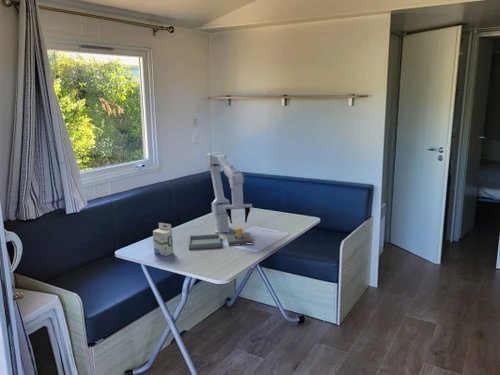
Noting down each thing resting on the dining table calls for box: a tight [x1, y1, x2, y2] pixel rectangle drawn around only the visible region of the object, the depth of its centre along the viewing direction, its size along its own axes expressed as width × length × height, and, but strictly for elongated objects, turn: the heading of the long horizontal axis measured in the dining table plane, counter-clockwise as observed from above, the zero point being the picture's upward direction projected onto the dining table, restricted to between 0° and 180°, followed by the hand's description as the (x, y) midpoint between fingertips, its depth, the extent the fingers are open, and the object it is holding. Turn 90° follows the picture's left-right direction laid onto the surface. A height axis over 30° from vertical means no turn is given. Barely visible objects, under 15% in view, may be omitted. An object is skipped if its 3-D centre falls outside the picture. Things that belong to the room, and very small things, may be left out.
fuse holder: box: [226, 232, 253, 246], centre depth 230 cm, size 12×12×2 cm
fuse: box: [235, 226, 243, 239], centre depth 229 cm, size 4×3×7 cm
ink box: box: [152, 222, 174, 257], centre depth 214 cm, size 8×5×15 cm, turn 60°
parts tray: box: [188, 233, 222, 250], centre depth 227 cm, size 14×16×2 cm
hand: (238, 222), depth 228 cm, fingers open, 7 cm apart
